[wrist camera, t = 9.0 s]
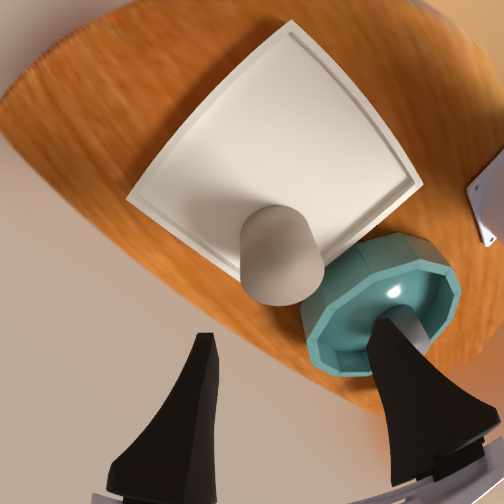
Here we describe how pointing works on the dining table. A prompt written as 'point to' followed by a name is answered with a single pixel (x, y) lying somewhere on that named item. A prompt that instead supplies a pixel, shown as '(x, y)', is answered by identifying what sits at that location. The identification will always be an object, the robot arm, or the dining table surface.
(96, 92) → the dining table surface
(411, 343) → the robot arm
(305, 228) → the brown stone
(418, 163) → the dining table surface
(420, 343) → the charcoal stone
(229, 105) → the parts tray
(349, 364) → the bowl
